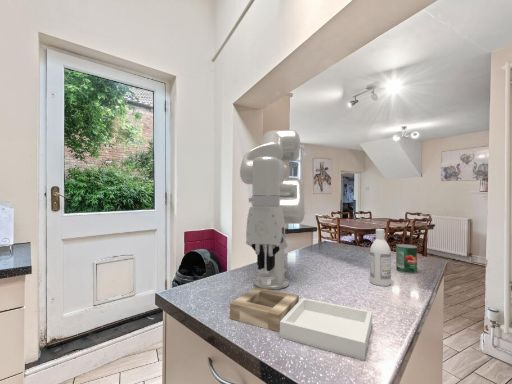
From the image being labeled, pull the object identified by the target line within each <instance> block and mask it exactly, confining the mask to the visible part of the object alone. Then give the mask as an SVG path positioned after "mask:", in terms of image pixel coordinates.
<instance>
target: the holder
mask: <svg viewBox="0 0 512 384" xmlns="http://www.w3.org/2000/svg"><path fill="white" fill-rule="evenodd" d="M299 296H300V295H299V294H294V293H287V292H282V291H278V290H274V289H264V288H260V287H257V286H255V287H253V288H251V289H250V290H248V291H247V292H245V293H243V294H242V295H241V296H239V297H238V298H236V299H234V300H233V301H231V302H230V303H229V319H230V320H232V321H237V322H241V323H244V324H249V325H251V326H255V327H259V328H263V329H267V330H271V331H274V332H277V333H280V321H281V320H282V319H283V318H284V317H285V316H286V315H287V313H288V312H289V311H290V310H291V309H292V308H293V307H294V306H295V305H296V304H297V303H298V302H299V301H300V297H299Z"/></svg>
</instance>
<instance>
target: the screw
mask: <svg viewBox="0 0 512 384" xmlns="http://www.w3.org/2000/svg"><path fill="white" fill-rule="evenodd" d="M263 248H264V249H263V250H264V251H263V252H264V258H263V259H264V260H263V261H264V262H263V263H264V264H263V265H264V266H263V267H264V268H263V269H264V271H263V272H264V273H260V274H259V273H258V274H257V277H256V278H259V279H261V280H262V285H270V284H271V280H272V279H274V278H275V275H274V274H272V273H270V272H269V271H267V256H268V254H269V245H264V247H263Z"/></svg>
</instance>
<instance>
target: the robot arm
mask: <svg viewBox="0 0 512 384" xmlns="http://www.w3.org/2000/svg"><path fill="white" fill-rule="evenodd" d="M300 147H301V139H300V135H299V133H298V132H297V131H296V130H293V129H282V130H281V129H279V130H276V129H275V130H274V129H273V130H269V131H266V132H265V133H264V134H263V136H262V138H261V143H260V145H258V146H256V147H255V148H253V149H252V148H251V149H250V150H248V151H247V152H246V153H245V154H244V155H243V158H242V161H241V163H240V169H239V177H240V179H241V181H242V182H243V183H244V184H246V185H252V195H251V197H249V198H248V202H249V203H251V206H250V207H249V209H248V214H247V221H246V229H245V230H246V233H245V238H246V241H245V244H246V245H247V246H249V247H251V248H252V250H253V251H254V252H255V255H257V256H256V257H257V259H256V260H257V261H256V264H257V270H258V275H259V274H260V273H264V272H263V271H264V269H263V268H264V267H263V266H264V265H263V264H264V263H263V262H264V261H263V260H264V259H263V258H264V252H263V251H264V250H263V249H264V248H263V247H264V245H269V254H268V256H267V271H269V272H270V273H272V274H274V275H275V278H274V279H272V280H271V284H270V285H262V280H261V279H259V278H258V277H256V278H254V285H255V287H258V288H263V289H268V290H280V289H284V288H287V287H288V286H289V283H290V281H289V279H287V278H286V277H285V275H286V274H285V273H287V268H286V267H285V265H286V264H285V263H286V261H285V258H286V257H285V253H286V252H285V251H286V248H288V243H287V240H286V225H285V224H287V225H288V224H291V225H292V224H301V223H302V222H303V221H304V219H305V211H306V210H305V195H304V187H303V185H304V184H303V182H302V181H301V179H299V178H298V177H288V166H287V164H286V163H287V162H288V163H293V162H296V161H298V159H299V158H300V150H301V149H300Z"/></svg>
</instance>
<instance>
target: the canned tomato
mask: <svg viewBox="0 0 512 384" xmlns="http://www.w3.org/2000/svg"><path fill="white" fill-rule="evenodd" d="M395 247H396V249H395V250H396V251H395V252H396V253H395V256H396V257H395V259H396V262H395V263H396V265H395V266H396V269H395V270H396V271H397V272H398V273H401V274H406V275H407V274H408V275H409V274H410V275H415V274H418V246H417V245H415V244H414V245H413V244H407V243H402V244H401V243H398V244H397V243H396V244H395Z"/></svg>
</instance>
